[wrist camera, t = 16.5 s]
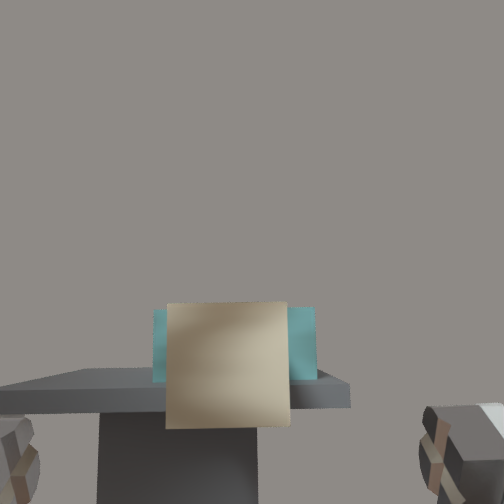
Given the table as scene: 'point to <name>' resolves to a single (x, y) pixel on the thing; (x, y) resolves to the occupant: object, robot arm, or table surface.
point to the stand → (160, 435)
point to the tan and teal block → (232, 362)
